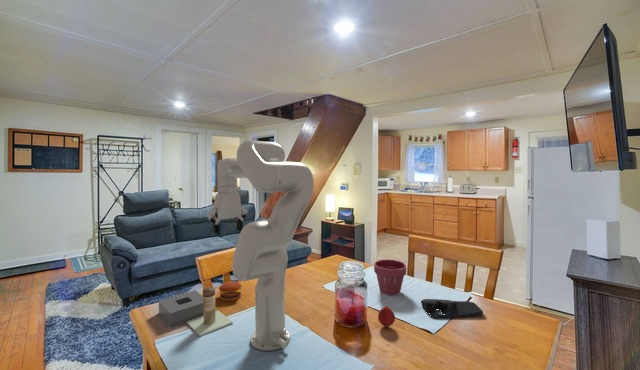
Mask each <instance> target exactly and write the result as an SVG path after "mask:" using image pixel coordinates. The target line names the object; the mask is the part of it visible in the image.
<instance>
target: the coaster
mask: <svg viewBox="0 0 640 370" xmlns="http://www.w3.org/2000/svg"><path fill="white" fill-rule="evenodd" d="M215 317H216V321H215V322H214V323H213V324H209V325H206V324H204V315H203V316H201V317H198V318H195V319H192V320H189V321H186V322H185V323H186V324H187V325H188V326H189V328H190V329H191V330H193V331H194V332H195V334H196V335H197V336H198V337H202V336H205V335H208V334H210V333H213V332H214V331H217V329H218V330H219V329H223V328H225V327H227V326H230V325H233V324H234V322H233V321H232V320H231V319H230V318H228V317H227V316H226V315H225V314H223V313H222V312H221V311H219V310H215Z"/></svg>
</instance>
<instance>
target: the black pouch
mask: <svg viewBox="0 0 640 370" xmlns="http://www.w3.org/2000/svg"><path fill="white" fill-rule="evenodd" d="M420 302H421V303H422V305H421V308H422V309H424V310H425V311H424V310H423V311H424V312H425V313H426V312H427V313H430V314H428V316H429V315H431V316H430V318H432V317H433V318H432V319H436V318H437V319H455V318H471V317H477V316H481V315H483V314H484V311H483V310H482V308H481V307H479V306H478V305H477V304H476V303H475V302H474V301H470V300H450V299H438V298H437V299H436V298H424V299H422V300H421V301H420ZM421 303H420V304H421ZM436 309H439V310H441V312H442V313H443V314H445V315H443V314H442V313H441V312H440V313H438V312H437V310H436ZM439 310H438V311H439ZM427 313H426V314H427ZM450 317H451V318H450Z"/></svg>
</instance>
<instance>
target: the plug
mask: <svg viewBox="0 0 640 370" xmlns="http://www.w3.org/2000/svg"><path fill="white" fill-rule="evenodd" d="M202 296H203V310H204V324H206V325H209V324H213V323H214V322H215V321H216V317H215V311H216V287H213V286H208V287H205V288H203V289H202Z"/></svg>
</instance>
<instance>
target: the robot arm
mask: <svg viewBox="0 0 640 370" xmlns="http://www.w3.org/2000/svg"><path fill="white" fill-rule="evenodd" d="M285 157H286V154H285V150H284V148H283V146H281V145H280V144H278V143H276V142H274V141H263V140H246V141H243V142H242V143H240V144H239V146H238V147H237V151H236V158H232V157H230V158H229V157H227V158H223V159H221V158H220V159H219V160H218V161H217V164H216V165H217V193H215V197H214V202H213V204H214V205H213V209H212V210H211V211H209V212H207V213H206V217H207V219H208V221H209V222H210V223H212V224H213V233H214V235H218V236H219V235H220V234H221V233H220V230H221V229H220V224H219V223H220V222H221V220H227V219H235V218H236V219H237V220H236V231H238V232H239V231H240V232H239V233H240V234H239V235H238V240H237V243H236V246H235V250H234V254H233V256H232V263H231V267H232V274H233V276H234V278H236V280H238V281H240V282H248V281H253V280H256V279H257V281H256V284H255V287H254V288H255V289H254V301H255V303H254V304H255V305H254V306H255V307H254V308H255V309H254V310H255V312H254V313H255V317H254V318H255V319H254V320H255V331H254V332H253V333H252V334H251V337H250V344H251V346H252V347H253V348H255V349H256V350H259V351H262V352H264V351H265V352H272V351H277V350H280V349H285V348H286V347H287V345H288V344H289V343H290V341H291V338H290V337H291V335H290V332H289V331H288V329H287V328H286V303H285V302H286V292H285V291H286V289H285V288H286V287H285V286H286V274H287V267H288V261H289V260H288V258H289V257H288V251H287V250H286V248H287V247H289V245H291V242H292V240H293V237H294V236H295V232H296V230H297V228H298V226H299V223H300V220H301V217H302V215H303V213H304V211H305V210H306V208H307V206H308V205H309V203H310V201H311V198H312V196H313V192H314V187H315V186H314V185H315V184H314V183H315V182H314V181H315V180H314V176H313V172H312V171H311V169H310V167H308V166H307V165H305V164H303V163H301V162H296V161H285ZM245 178H246V179H247V180H248V182H250V184H251V186H252V187H253V189H255V190H256V191H258V192H260V193H278V192H280V193H281V192H285V194H284V195H282V196H281V197H280V198H279V199H278V201H276V203H275V204H274V205H273V208H272V211H271V214H270V216H269V218H266V219H263V220H257V221H251V222H249V223H247V224H245V225H244V224H243V222H244V221H245V218H247V214H248V212H249V210H248V209H247V208H245V207H243V206H242V203H241V195H240V193H239V191H240V190H241V186H238V179H245ZM213 217H214V218H213Z"/></svg>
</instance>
